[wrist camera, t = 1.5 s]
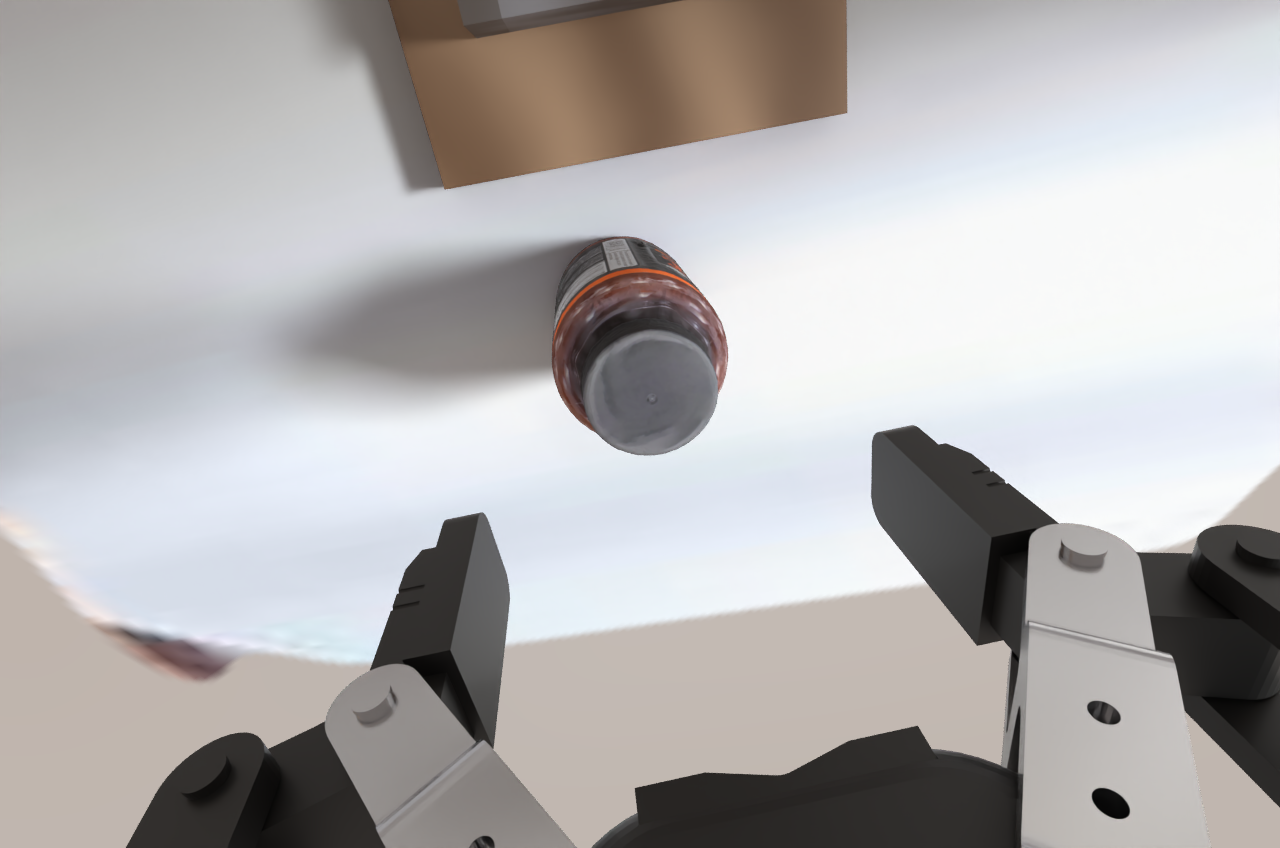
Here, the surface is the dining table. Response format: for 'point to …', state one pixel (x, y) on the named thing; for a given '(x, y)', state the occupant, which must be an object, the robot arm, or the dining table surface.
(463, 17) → the socket plate
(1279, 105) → the dining table surface
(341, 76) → the dining table surface
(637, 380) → the supplement bottle
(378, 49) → the dining table surface
